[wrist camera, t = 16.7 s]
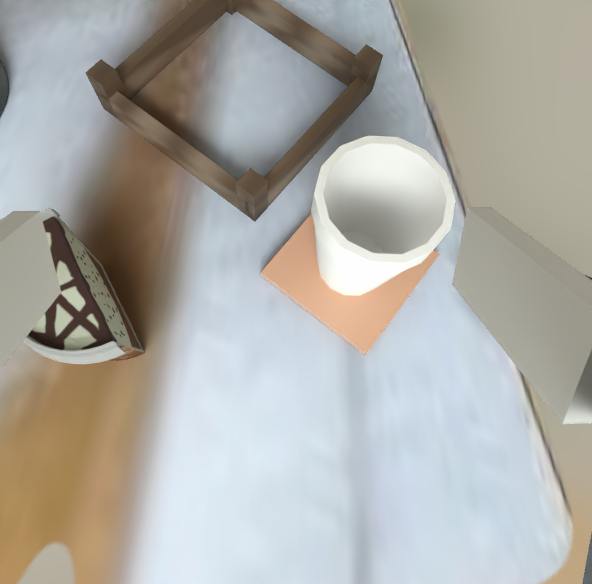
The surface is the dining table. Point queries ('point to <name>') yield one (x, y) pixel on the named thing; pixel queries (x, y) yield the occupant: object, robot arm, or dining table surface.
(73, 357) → the cake slice
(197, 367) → the dining table surface
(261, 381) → the dining table surface
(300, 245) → the terracotta tile
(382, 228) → the foam cup
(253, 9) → the frame
